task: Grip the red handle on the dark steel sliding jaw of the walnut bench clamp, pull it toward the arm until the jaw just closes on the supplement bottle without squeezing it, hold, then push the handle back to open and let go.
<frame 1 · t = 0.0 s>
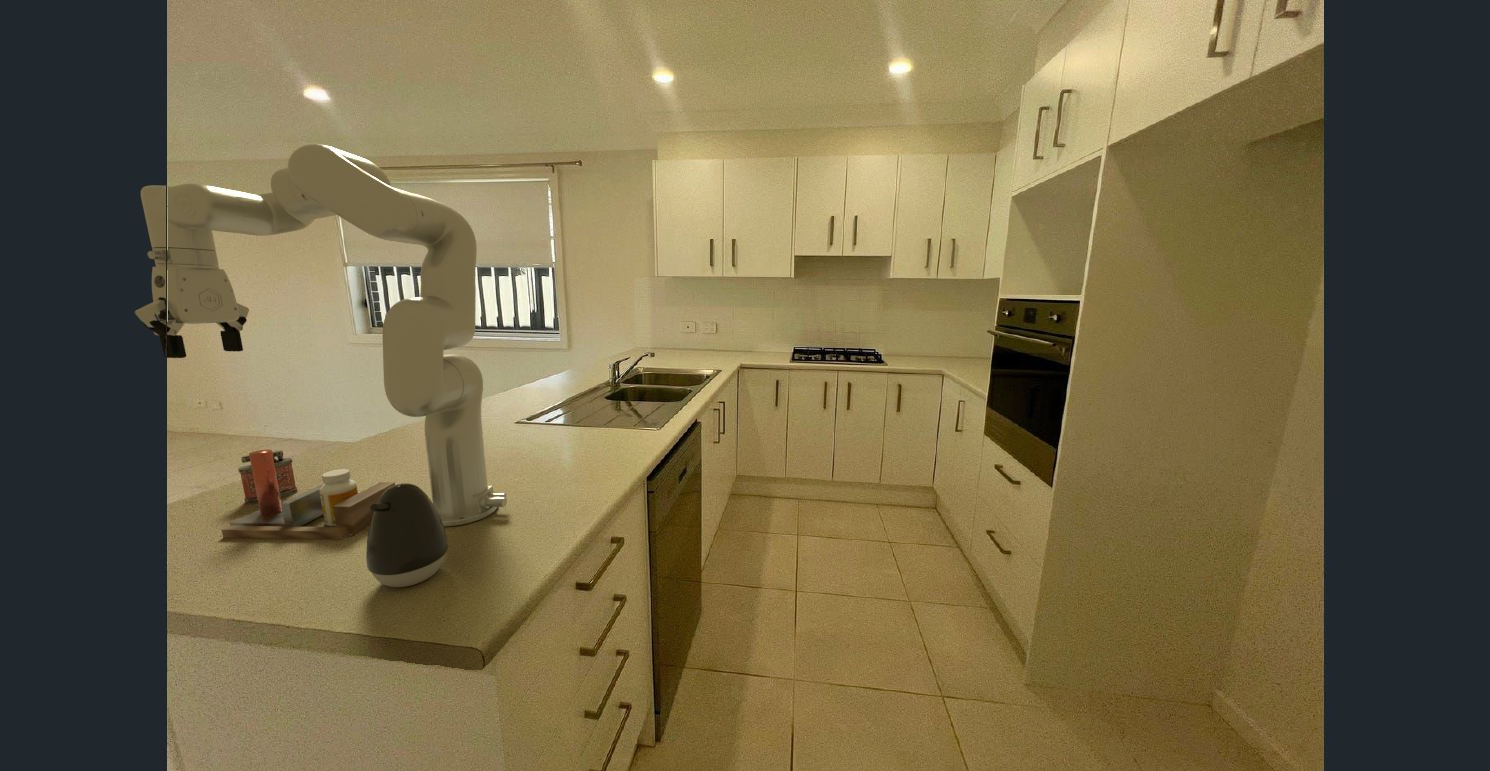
hand: (206, 354, 89), 31 cm above the counter, tool pointing down, fingers open, 9 cm apart
lighter: (272, 497, 101), on the counter
bench clamp: (325, 519, 91), on the counter
sliding jaw: (280, 485, 89), point 7 cm above the counter, slide at 0.0 cm
supplement bottle: (343, 521, 91), resting on bench clamp
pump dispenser: (411, 578, 73), on the counter
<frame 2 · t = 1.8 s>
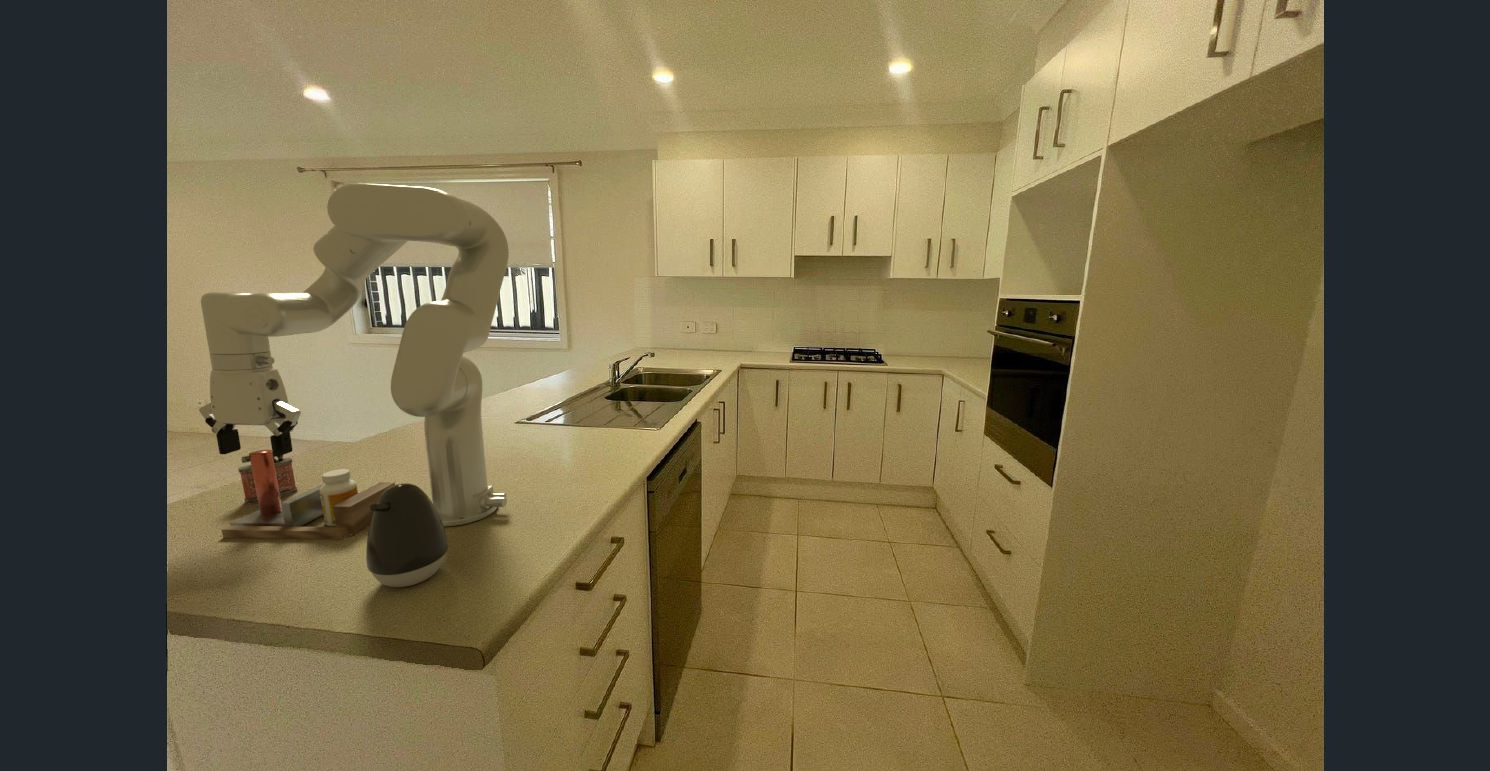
hand: (256, 453, 88), 13 cm above the counter, tool pointing down, fingers open, 9 cm apart
nothing on the counter moved.
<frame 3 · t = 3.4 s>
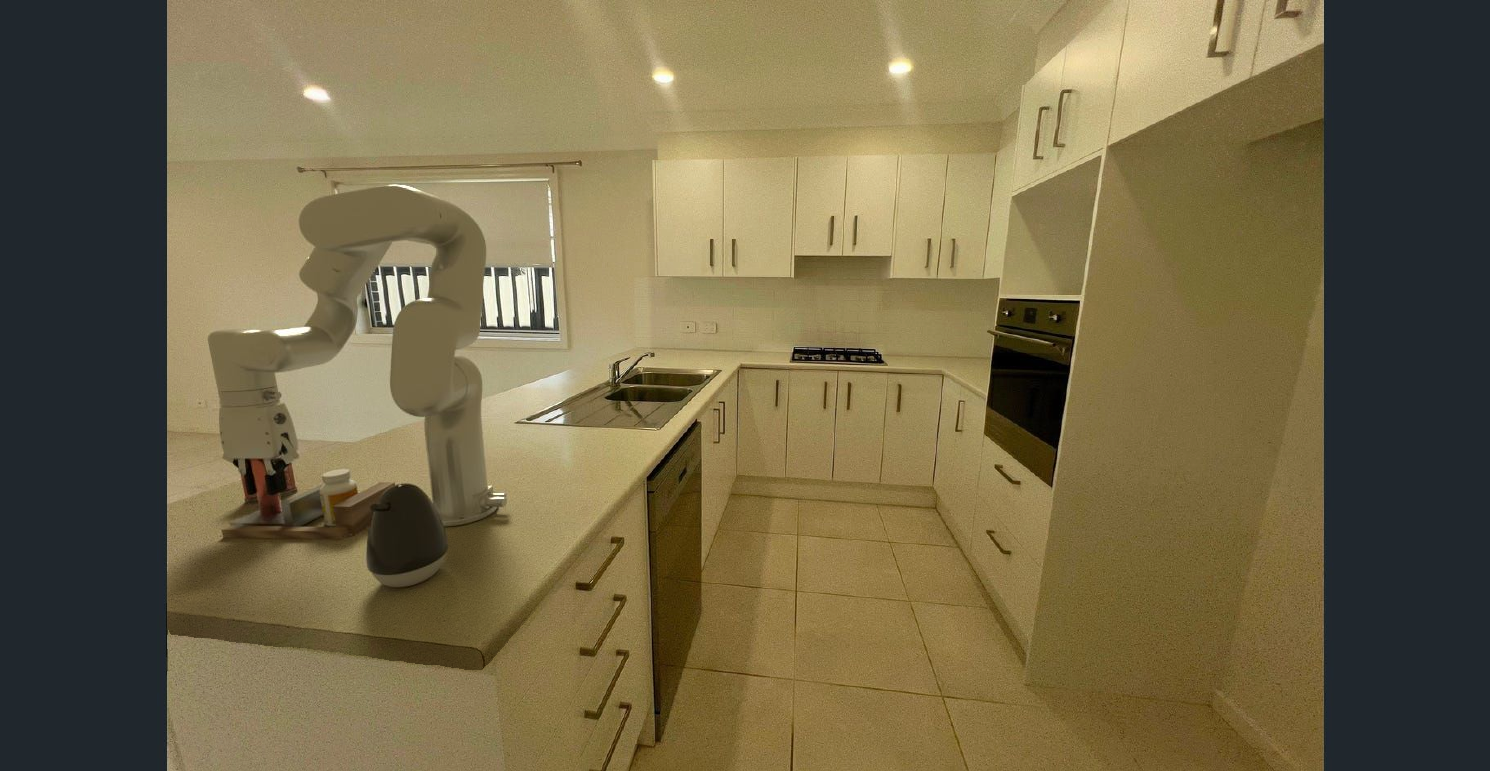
hand: (267, 491, 90), 6 cm above the counter, tool pointing down, fingers closed on sliding jaw, 3 cm apart
sliding jaw: (280, 485, 89), point 7 cm above the counter, slide at 0.0 cm, touching gripper
everything else where it was.
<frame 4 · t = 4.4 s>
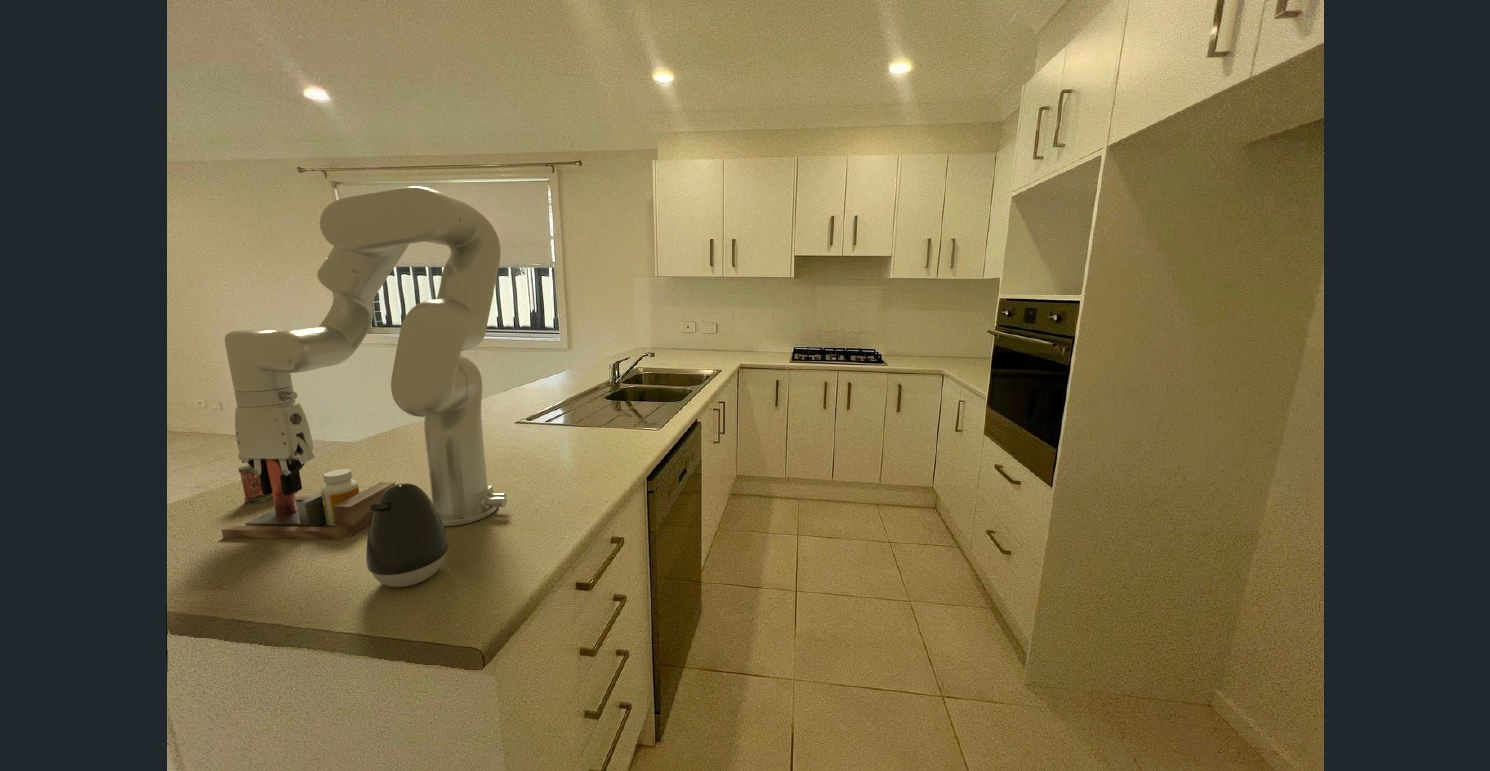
hand: (282, 491, 90), 6 cm above the counter, tool pointing down, fingers closed on sliding jaw, 3 cm apart
sliding jaw: (295, 485, 89), point 7 cm above the counter, slide at 2.8 cm, touching supplement bottle, gripper
supplement bottle: (345, 521, 91), resting on bench clamp, touching sliding jaw
everything else where it was.
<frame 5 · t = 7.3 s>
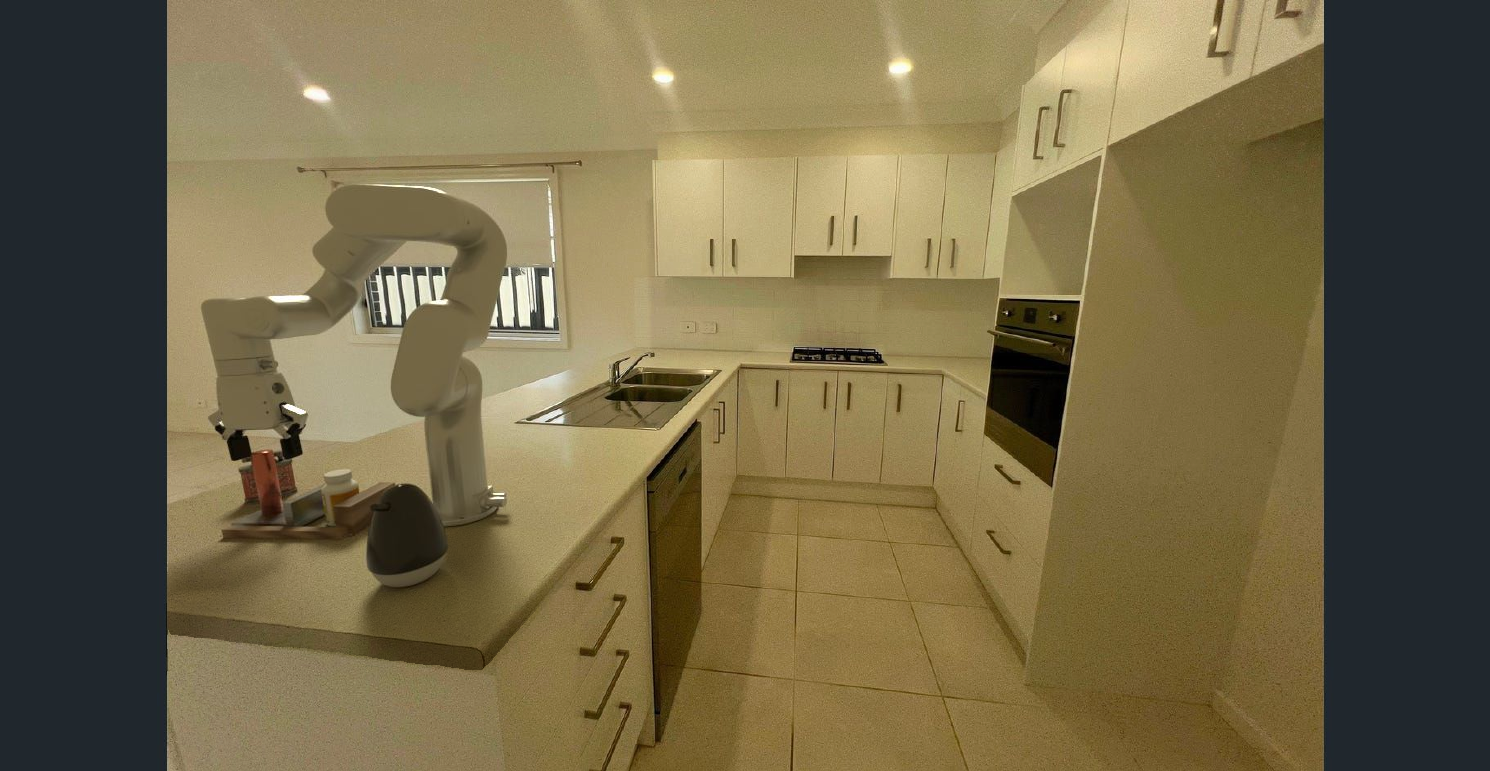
hand: (268, 457, 88), 12 cm above the counter, tool pointing down, fingers open, 9 cm apart
sliding jaw: (281, 485, 89), point 7 cm above the counter, slide at 0.2 cm
supplement bottle: (345, 521, 91), resting on bench clamp
everything else where it was.
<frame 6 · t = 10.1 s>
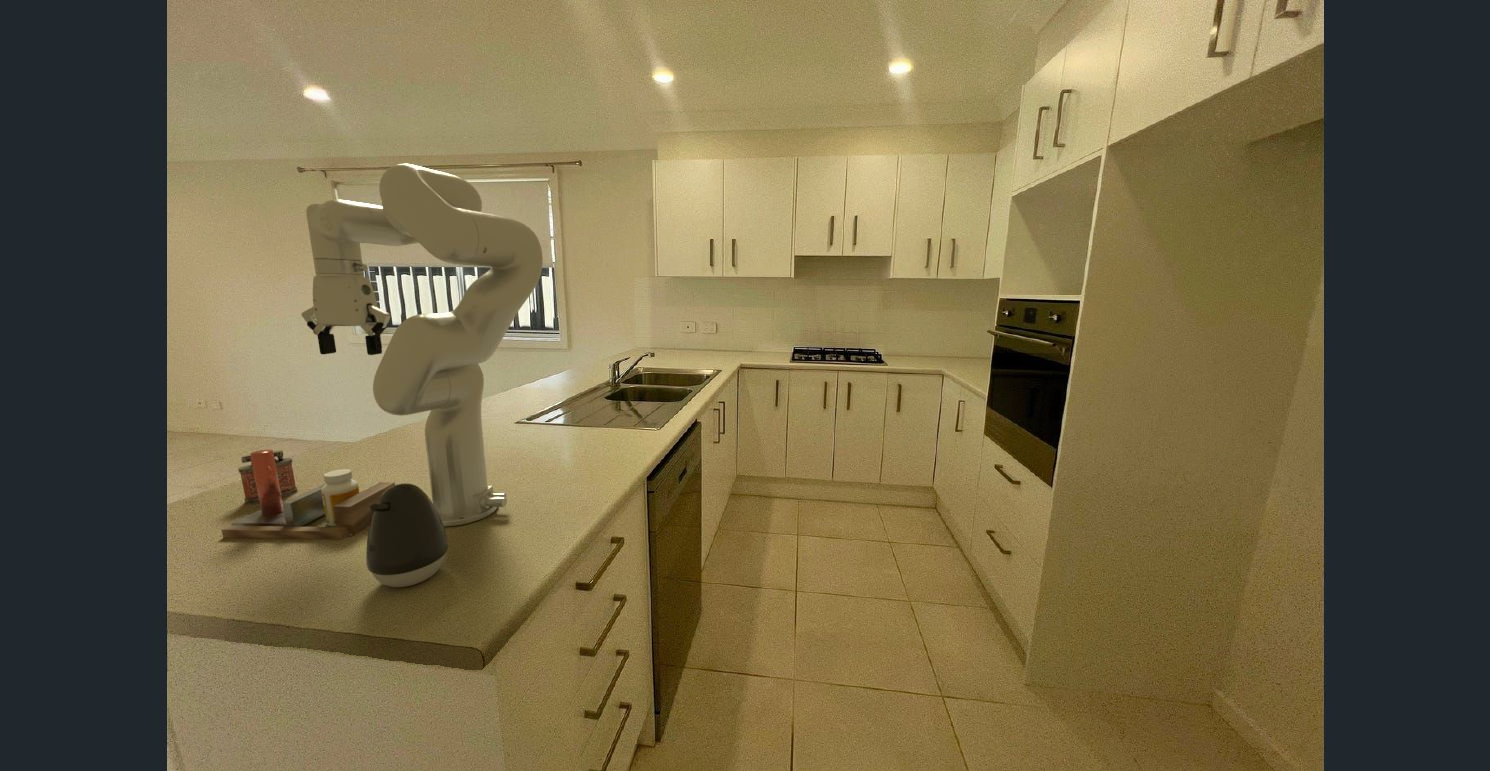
hand: (351, 353, 99), 30 cm above the counter, tool pointing down, fingers open, 9 cm apart
nothing on the counter moved.
at the end: sliding jaw slide at 0.2 cm; supplement bottle moved 0.4 cm from its start; supplement bottle tilted 0° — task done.
